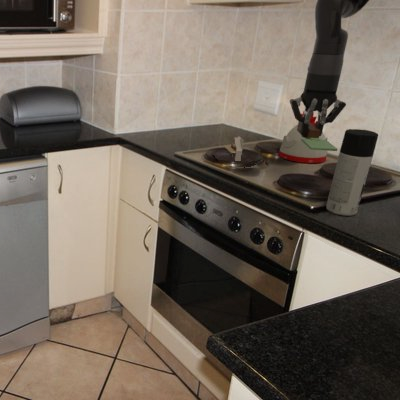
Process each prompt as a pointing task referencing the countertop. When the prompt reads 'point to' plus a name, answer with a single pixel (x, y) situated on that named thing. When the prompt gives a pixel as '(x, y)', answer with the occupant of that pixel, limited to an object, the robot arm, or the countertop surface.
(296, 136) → the kitchen timer
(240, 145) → the architectural model
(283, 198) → the countertop surface
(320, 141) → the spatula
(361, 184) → the spray can
